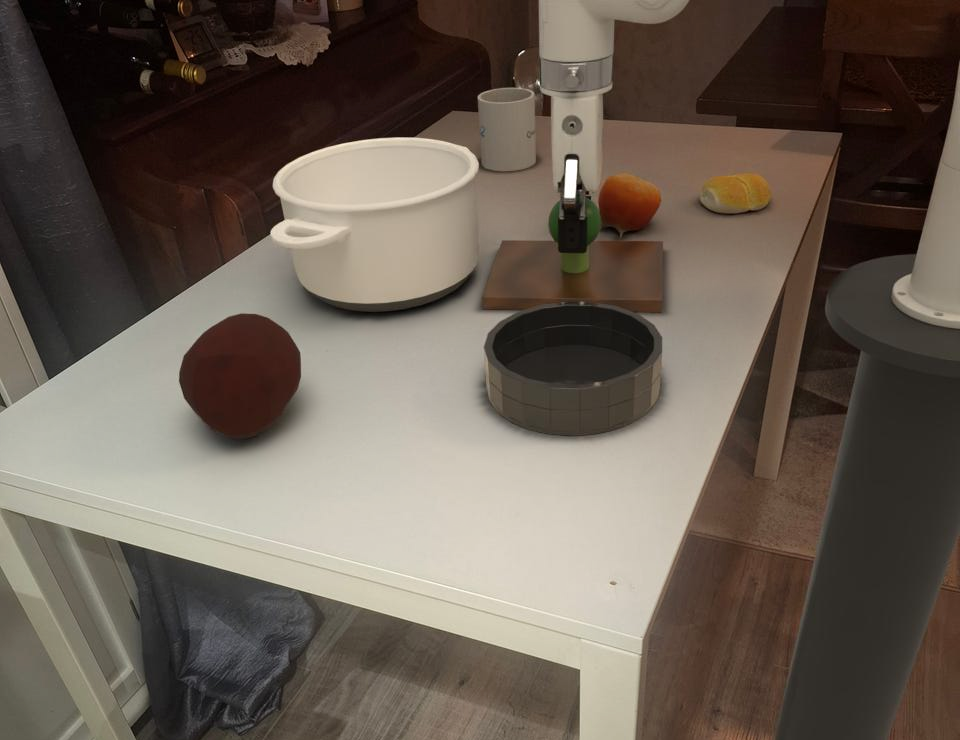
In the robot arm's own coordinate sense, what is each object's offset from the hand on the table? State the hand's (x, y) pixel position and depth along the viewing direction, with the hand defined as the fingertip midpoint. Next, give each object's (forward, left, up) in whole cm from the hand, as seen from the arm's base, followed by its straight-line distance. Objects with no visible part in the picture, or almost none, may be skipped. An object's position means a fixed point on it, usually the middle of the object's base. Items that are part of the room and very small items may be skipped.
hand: (574, 239), depth 103 cm
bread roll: (-20, -24, -5) cm, 31 cm away
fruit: (-6, -16, -5) cm, 18 cm away
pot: (+22, +1, -5) cm, 23 cm away
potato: (+28, +32, -5) cm, 43 cm away
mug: (+13, -44, -5) cm, 46 cm away
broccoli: (0, 0, -3) cm, 3 cm away
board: (0, 0, -5) cm, 5 cm away
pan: (-2, +24, -5) cm, 25 cm away
